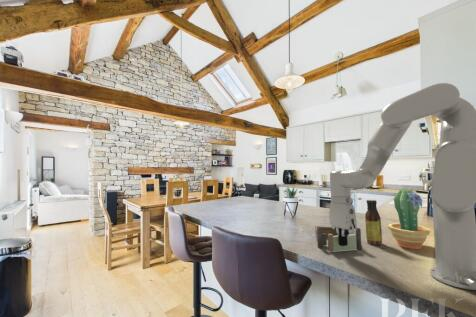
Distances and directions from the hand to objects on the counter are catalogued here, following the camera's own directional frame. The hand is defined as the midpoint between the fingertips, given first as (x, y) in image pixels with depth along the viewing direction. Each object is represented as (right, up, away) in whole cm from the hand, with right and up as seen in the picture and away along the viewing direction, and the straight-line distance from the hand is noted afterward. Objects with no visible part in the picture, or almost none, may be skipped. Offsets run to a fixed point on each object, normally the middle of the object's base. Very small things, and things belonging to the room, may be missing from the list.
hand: (343, 245), depth 90 cm
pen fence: (+3, -4, +14) cm, 15 cm away
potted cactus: (+34, -4, +8) cm, 35 cm away
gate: (+1, -3, +3) cm, 5 cm away
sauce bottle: (+20, -4, +12) cm, 24 cm away
